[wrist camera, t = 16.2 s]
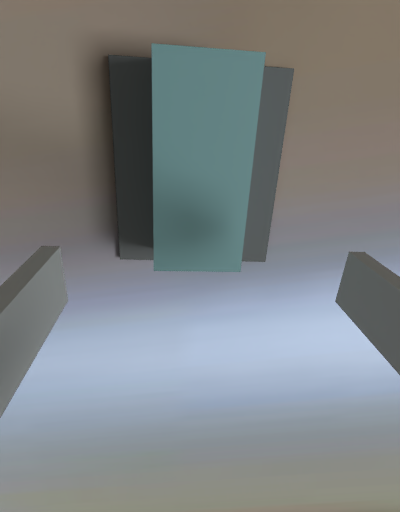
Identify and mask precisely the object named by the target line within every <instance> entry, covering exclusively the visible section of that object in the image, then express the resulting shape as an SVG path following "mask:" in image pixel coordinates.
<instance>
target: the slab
mask: <svg viewBox="0 0 400 512" xmlns="http://www.w3.org/2000/svg"><path fill="white" fill-rule="evenodd" d="M265 54H266V52H254V51H241V50H229V49H216V48H203V47H190V46H178V45H165V44H152V134H153V238H154V271H209V272H240V271H241V262H242V253H243V245H244V236H245V227H246V219H247V210H248V201H249V193H250V184H251V175H252V167H253V158H254V149H255V141H256V132H257V123H258V115H259V106H260V97H261V89H262V80H263V71H264V63H265Z"/></svg>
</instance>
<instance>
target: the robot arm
mask: <svg viewBox="0 0 400 512" xmlns="http://www.w3.org/2000/svg"><path fill="white" fill-rule="evenodd" d="M67 302H68V297H67V290H66V283H65V276H64V270H63V263H62V256H61V249H60V247H59V246H41V247H40V248H39V249H38V250H37V251H36V252H35V253H34V254H33V255H32V256H31V257H30V258H29V259H28V260H27V261H26V262H25V263H24V264H23V265H22V266H21V267H20V268H19V269H18V270H17V271H16V272H15V273H13V274H12V275H11V276H10V277H9V278H8V279H7V280H6V281H5V282H4V283H3V284H2V285H1V286H0V418H1V416H2V414H3V413H4V411H5V409H6V407H7V406H8V404H9V402H10V401H11V399H12V397H13V395H14V394H15V392H16V390H17V388H18V387H19V385H20V383H21V381H22V380H23V378H24V376H25V375H26V373H27V371H28V369H29V368H30V366H31V364H32V362H33V361H34V359H35V357H36V356H37V354H38V352H39V350H40V349H41V347H42V345H43V343H44V342H45V340H46V338H47V336H48V335H49V333H50V331H51V330H52V328H53V326H54V324H55V323H56V321H57V319H58V317H59V316H60V314H61V312H62V311H63V309H64V307H65V305H66V304H67ZM335 302H336V303H337V304H338V305H339V306H340V307H341V309H342V310H343V311H344V312H345V313H346V314H347V315H348V317H349V318H350V319H351V320H352V321H353V322H354V323H355V325H356V326H357V327H358V328H359V329H360V330H361V331H362V333H363V334H364V335H365V336H366V337H367V338H368V339H369V341H370V342H371V343H372V344H373V345H374V346H375V347H376V348H377V350H378V351H379V352H380V353H381V354H382V355H383V356H384V358H385V359H386V360H387V361H388V362H389V363H390V364H391V366H392V367H393V368H394V369H395V370H396V371H397V372H398V374H399V375H400V277H399V276H397V275H396V274H395V273H393V272H392V271H390V270H389V269H388V268H386V267H385V266H383V265H382V264H381V263H379V262H378V261H376V260H375V259H373V258H372V257H371V256H369V255H368V254H366V253H365V252H349V254H348V257H347V261H346V264H345V268H344V272H343V275H342V279H341V282H340V286H339V290H338V293H337V297H336V301H335Z"/></svg>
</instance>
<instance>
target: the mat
mask: <svg viewBox="0 0 400 512" xmlns="http://www.w3.org/2000/svg"><path fill="white" fill-rule="evenodd" d="M108 58H109V76H110V93H111V111H112V128H113V146H114V163H115V181H116V198H117V216H118V233H119V250H120V259H134V260H154V238H153V134H152V58H145V57H132V56H118V55H108ZM293 73H294V69H292V68H279V67H265V66H264V71H263V80H262V89H261V97H260V106H259V115H258V123H257V132H256V141H255V149H254V158H253V167H252V175H251V184H250V193H249V201H248V210H247V219H246V227H245V236H244V245H243V253H242V261H256V262H265V260H266V254H267V247H268V240H269V233H270V227H271V220H272V213H273V207H274V200H275V193H276V187H277V180H278V173H279V167H280V160H281V153H282V146H283V140H284V133H285V126H286V120H287V113H288V106H289V100H290V93H291V86H292V80H293Z"/></svg>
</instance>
